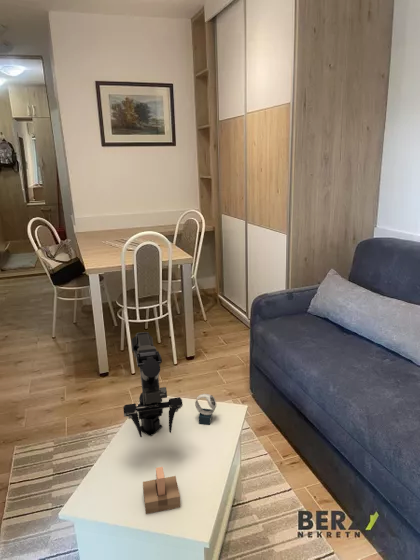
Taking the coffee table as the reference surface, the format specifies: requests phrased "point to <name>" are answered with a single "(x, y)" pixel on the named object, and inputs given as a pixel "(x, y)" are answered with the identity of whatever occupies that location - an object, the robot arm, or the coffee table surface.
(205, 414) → the watch
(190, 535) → the coffee table surface
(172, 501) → the slot box
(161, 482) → the rectangular block
